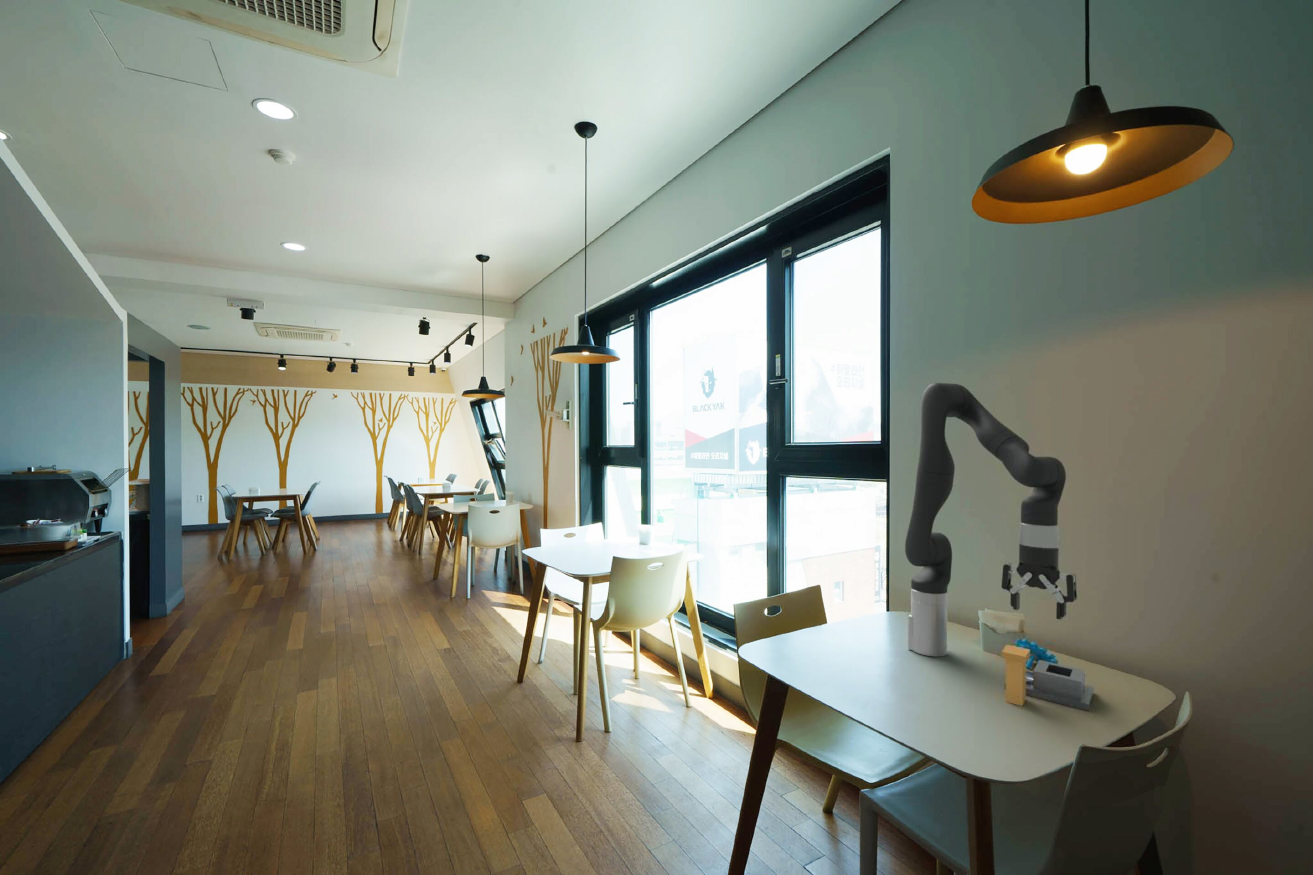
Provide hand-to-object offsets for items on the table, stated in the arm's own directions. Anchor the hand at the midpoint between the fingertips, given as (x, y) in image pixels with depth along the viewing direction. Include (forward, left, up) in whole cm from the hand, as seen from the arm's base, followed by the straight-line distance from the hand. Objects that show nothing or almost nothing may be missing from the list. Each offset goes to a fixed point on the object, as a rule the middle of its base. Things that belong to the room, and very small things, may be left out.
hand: (1037, 613), depth 130 cm
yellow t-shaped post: (-4, -4, -20) cm, 20 cm away
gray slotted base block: (+1, +7, -20) cm, 21 cm away
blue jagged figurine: (-4, +23, -20) cm, 31 cm away
